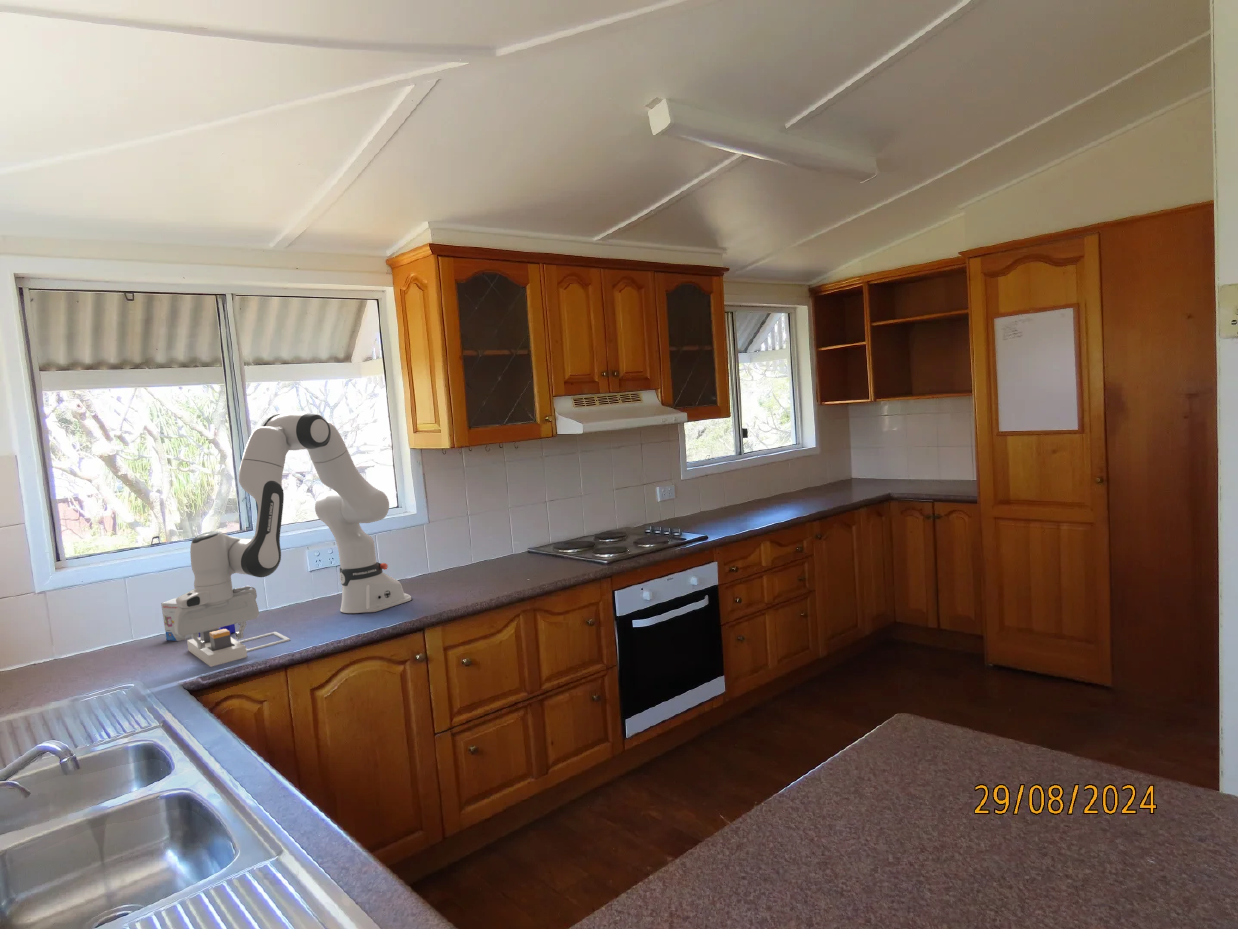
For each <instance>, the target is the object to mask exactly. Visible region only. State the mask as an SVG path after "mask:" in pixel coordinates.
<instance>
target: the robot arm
mask: <svg viewBox="0 0 1238 929" xmlns="http://www.w3.org/2000/svg"><path fill="white" fill-rule="evenodd" d="M299 450H301V451H302V450H307V452H308V455H309V458H310V460H311V461H312V464H313V468H314V469H315V472H316V473H317V476H318V478H319V481H321V483H322V484H323V485H324V486H326V487H328V488H330V489H332V490H330V491H326V492H324V493H321V494H320V495H319V496H318V497H317V498H316V501H315V504H314V510H315V514H316V517H317V518H318V519H319V520H320V521H321V522H323V523H324V524H325V525H326V526H327V528H328V529H329V530H330V532H331V533H332V535H333V537H334V540H335V542H336V545H337V549H338V557H339V563H340V564H339V565H340V567H339V579H340V580H339V581H340V582H341V583H340V585H341V587H342V588H341V590H342V591H341V606H340V610H339V611H340V612H341V613H343V614H359V613H361V614H362V613H375V612H379V611H382V610H385V609H389V608H392V607H394V606H398V605H400V604H404V603H406V602H409V601H411V600H412V596H411V595H410V594H408V593H405V592H404V589H403V586H402V584H401V582H400V581H399V580H397V579H395V578H394V577H392V576H391V575H389V574H387V573H385V572H383V570H385V571H386V570H387V569H388V568H389V566H388V564H387V563H385V562H382V563H381V562H377V556H376V549H375V548H376V547H375V541H374V539H373V538H372V537H371V535H369V534H368V533H366V532H365V530H363V529H362V527H361V525H360V524H370V523H371V524H372V523H375V522H378V521H382V520H384V519H385V518H386V517H387V515H388V513H389V510H390V509H389V508H390V501H389V499H388V496H387V495H386V494H385V492H383V491H382V490H380V489H378V488H376V487H375V486H373V485H372V484H371V483H369V482H368V480H367V479H365V477H363V475H362V474H361V473H360V472H359V470H358V469H357V466H356V465H355V463H354V461H353V459H352V457H351V454H350V452H349V450H348V447H347V446H346V443H345V441H344V439H343V436H342V435H341V434H340V432H339V430H338V429H337V427H336V426H335V425H334V424H333V423H332V422H331V421H329V420H327V419H326V418H325V417H324V416H322V415H321V414H318V413H314V412H290V413H284V414H283V413H282V414H274V415H271V416H270V415H269V416H268V417H266V418H265V419H264V420H263V421H262V423H261V424H260V427H257V428H256V429H254V430H253V431H252V433H251V435H250V437H249V438H248V441H247V443H246V445H245V448H244V452H243V454H242V459H241V462H240V466H239V470H238V483H239V484H240V486H241V488H242V490H244V491H245V492H246V493H247V494H249V495H250V496H251V497H252V498H253V499H254V500H255V501H256V503H257V516H256V526H255V534H254V536H253V538H243V537H237V536H232V535H228V534H225V533H223V532H222V531H220V530H211V531H207V532H204V533H201V534H199V535H196V536H195V537H194V538H193V539H192V540H191V543H190V551H189V552H190V554H189V555H190V564H191V565H190V566H191V570H192V573H193V575H194V582H193V587H194V588H193V589H192V590H190V591H187V592H186V593H184V594H182V595H179V596H178V597H176V598H177V599H176V603H177V605H178V606H179V607H178V608H177V609H176V610H175V614H174V629H175V633H176V634H177V635H179V636H181V637H183V636H187V635H191V637H192V638H191V639H194V640H195V641H196V642H197V646H198V649H203V648H205V642H204V641H200V640H199V639H198V637H199V632H204V631H208V630H212V629H216V628H220V627H224V626H228V625H232V624H238V625H239V628H238V631H235V633H234V634H235V640H237V641H239V640H243V639H244V631H245V629H246V627H247V622H249V621H252V620H256V619H258V617H259V616H260V611H259V610H260V609H259V606H258V602H257V597H258V594H257V590H256V588H255V587H253V586H250V585H246V586H242V587H237V588H236V587H234V588H233V582H232V575H234V574H240V575H246V576H247V575H248V576H252V577H256V578H266V577H269V576H270V575H272V574H273V573H275V571H276V570H277V569H278V567H279V566H280V563H281V560H282V549H281V543H280V542H281V540H280V539H281V538H280V537H281V529H282V519H283V511H284V510H283V509H284V498H285V496H284V495H285V494H284V489H283V486H282V484H283V480H282V479H283V473H284V467H285V463H286V455H287V454H288V452H289V451H299Z"/></svg>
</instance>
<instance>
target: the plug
mask: <svg viewBox="0 0 1238 929" xmlns="http://www.w3.org/2000/svg"><path fill="white" fill-rule="evenodd" d="M209 634H210V642H211V650H212V651H216V650H220V649H224V648H228V647H231V646H232V645H231V637H232V636H231V635H230V631H229V630H227V629H222V630H218V631H214V632H209Z"/></svg>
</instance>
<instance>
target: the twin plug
mask: <svg viewBox="0 0 1238 929" xmlns="http://www.w3.org/2000/svg"><path fill="white" fill-rule="evenodd" d="M218 630H219V628H216V629H212V630H208V631H204V632H200V638H201V641H204V642H205V644H206V643H210V634H209V632H214V631H218Z"/></svg>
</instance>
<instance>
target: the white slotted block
mask: <svg viewBox="0 0 1238 929" xmlns="http://www.w3.org/2000/svg"><path fill="white" fill-rule="evenodd" d="M230 637H231V645H232V646H231V647H228V648H224V649H220V650H216V651H212V650H211V642H210V643H206V644H205V648H203V649H198V646H197V642H196V641H195V640H194V639H193V638H189V639H186V642H187V649H188V652H189V653H191V654H193V656H195V657H196V658H197V659H199V660H200V661H201V662H203V663H204V664H206V665H207V666H209V667H210V668H212V667H216V666H219V665H223V664H227V663H231V662H235V661H239V660H242V659H245V658H248V652H247V651H246V648H247V645H245V644H243V642H242V643H240V642H238V641H239V640H237V639H236V638H233V637H232V636H230ZM197 638H198V639H199V640H200V641H201V638H200V637H197Z"/></svg>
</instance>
